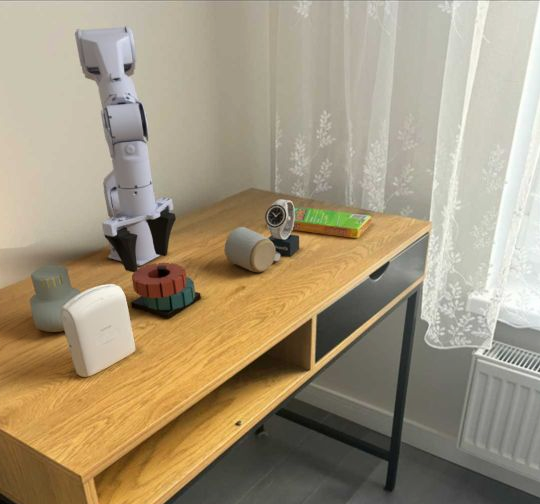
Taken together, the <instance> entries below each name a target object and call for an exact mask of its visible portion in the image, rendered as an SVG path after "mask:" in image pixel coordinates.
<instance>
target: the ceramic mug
mask: <svg viewBox="0 0 540 504" xmlns="http://www.w3.org/2000/svg"><path fill="white" fill-rule="evenodd" d="M268 238H269V237H267V236H266V235H262V234H260V233H258V232H256V231H254V230H252V229H250V228H248V227H245V226H240V227H236V228H235V229H234V230H232V231H231V232H230V233H229V234H228V236H227V238H226V240H225V243H224V254H225V257H226V259H227V260H228V261H229V262H230V263H231V264H233V265H236V266H238V267H241V268H243V269H246V270H248V271H250V272H254V273H264V272H266V271H267V270H268V269H269V268H270V267H271V266H272V265H273V263H274V262H279V261H280V259H281V255H280V253H278V252H276V251H275V246H274V244H273V242H272V241H271V240H269V239H268Z"/></svg>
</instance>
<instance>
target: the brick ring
mask: <svg viewBox="0 0 540 504" xmlns="http://www.w3.org/2000/svg"><path fill="white" fill-rule="evenodd" d="M158 266H166V271H167V276H165V277H162V278H158V273H157V267H158ZM186 277H187V274H186V269H185V268H184V266H182V265H180V264H177V263H173V262H171V263H170V262H158V263H150V264H147V265H146V264H145V266H143V265H142V266H140V267H139V268H137V271H136V272H132V275H131V281H132V286H133V287H132V288H133V291H134V292H135V294H136V295H138V296H139V297H140V296H143V297H149V298H161V296H163V297H167V296H171V295H174V293H175V294H177V293H179V292H180V291H182V290H184V288H185V287H186V284H187V281H186Z"/></svg>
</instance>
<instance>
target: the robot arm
mask: <svg viewBox="0 0 540 504" xmlns="http://www.w3.org/2000/svg"><path fill="white" fill-rule="evenodd" d="M74 36H75V42H76V48H77V52H78V53H77V54H78V58H79V64H80V67H81V71H82V74H83V75H84V78H85V79H87V80H90V81H94V82H95V84H96V86H97V88H98V94H99V100H100V104H101V110H100V116H101V117H100V118H101V122H102V123H101V124H102V128H103V133H104V134H103V135H104V138H105V141H106V145H107V147H108V152H109V155H110V158H111V162H112V164H111V165H112V170H111V171H110V172H109V173H108V174H107V175H106V176H105V177H104V178H103V182H102V186H103V194H104V200H105V205H106V210H107V216H108V217H109V218H108V220H106V221H104V222H102V223H101V225H102V231H103V235H104V238H105V239H106V240H107V241H108V246H109V251H110V254H108V259H110V260H114V261H117V262H118V261H119V262H121V263H122V266H123V268H124V271H126V272H131V273H134V272H136V271H137V269H138V267H142V266H143V265H146V264H147V263H149V262H151V261H154V260H155V259H157V258H159V257H166V256H168V251H169V242H170V237H171V232H172V230H173V227H174V224H175V222H176V220H177V218H176V214H175V213H174V212H172V211H174V203H173V199H172V198H170V197H164V196H163V197H161V198H158V199H156V197H155V196H156V195H155V190H154V183H153V177H152V170H151V163H150V156H149V150H148V149H149V147H148V143H147V142H149V136H150V132H149V131H150V130H149V123H148V117H147V112H146V108H145V107H144V104H143V102H142V101H141V99H139V98H138V95H137V90H136V87H135V83H134V81H133V79H132V78H131V77H132V76H134V74H135V70H136V62H137V52H136V45H135V44H136V43H135V38H134V33H133V31H132V29H131V28H130V26H129V25H125V26H123V27H122V26H121V27H106V28H91V29H80V28H77V29H76V30H75V32H74Z"/></svg>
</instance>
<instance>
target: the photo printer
mask: <svg viewBox="0 0 540 504" xmlns="http://www.w3.org/2000/svg"><path fill="white" fill-rule="evenodd" d="M129 311H130V310H129V307H128V302H127V297H126V295H125V292H124V291H123V289H122V288H121V286H120V285H116V284H115V283H107V284H101V285H96V286H94V287H90V288H88V289H86V290H83V291H82V292H80V294H78V295H76V296H75V297H73V298H72V299H71V300H69V301H68V302H67V303H66V304H65V305H64V306H63V307H62V308H61V310H60V315H61V319H62V323H63V327H64V331H63V332H64V334H65V338H66V341H67V342H66V343H67V346H68V349H69V353H70V358H71V362H72V365H73V368H74V369H75V373H76V374H77V375H78V376H80V377H83V378H88V377H91V376H94V375H95V374H97V373H99V372H102V371H103V370H105V369H107V368H109V367H111V366H113V365H114V364H116V363H119V362H120V361H122V360H123V359H125V358H127V357H128V356H130V355H132V354H133V353H134V352H136V343H135V338H134V332H133V328H132V322H131V318H130V312H129Z"/></svg>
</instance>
